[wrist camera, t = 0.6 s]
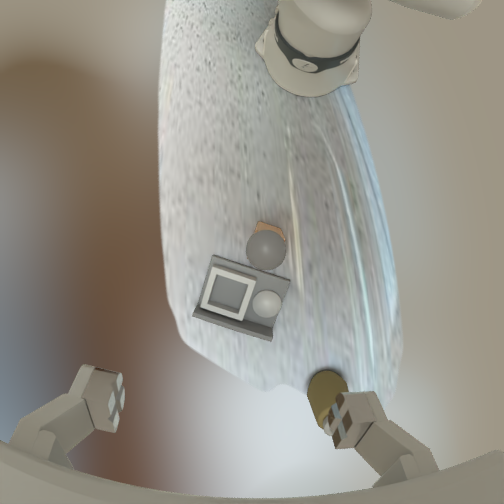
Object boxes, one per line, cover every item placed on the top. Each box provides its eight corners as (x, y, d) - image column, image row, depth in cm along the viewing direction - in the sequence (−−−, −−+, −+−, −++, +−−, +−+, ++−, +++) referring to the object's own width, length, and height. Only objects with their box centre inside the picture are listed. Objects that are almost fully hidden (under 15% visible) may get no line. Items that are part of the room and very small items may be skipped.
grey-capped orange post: (255, 216, 54) (253, 225, 41) (285, 226, 54) (291, 238, 41) (246, 245, 55) (240, 262, 42) (275, 255, 55) (278, 275, 42)
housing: (213, 254, 55) (208, 261, 50) (289, 280, 56) (292, 288, 51) (197, 305, 57) (192, 316, 52) (270, 329, 58) (271, 341, 53)
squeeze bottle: (322, 358, 58) (340, 417, 41) (351, 376, 59) (375, 433, 41) (296, 386, 60) (305, 448, 42) (326, 402, 61) (341, 462, 43)
